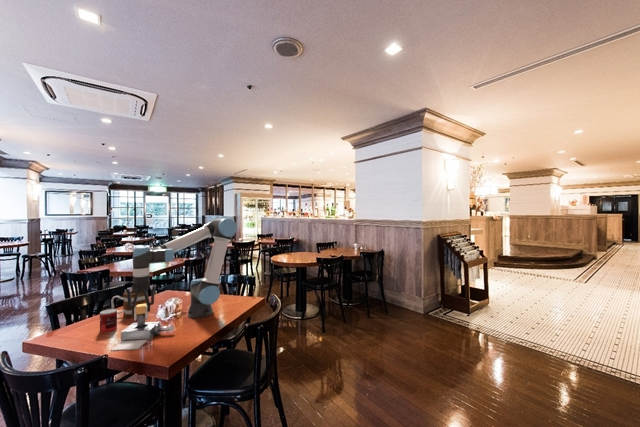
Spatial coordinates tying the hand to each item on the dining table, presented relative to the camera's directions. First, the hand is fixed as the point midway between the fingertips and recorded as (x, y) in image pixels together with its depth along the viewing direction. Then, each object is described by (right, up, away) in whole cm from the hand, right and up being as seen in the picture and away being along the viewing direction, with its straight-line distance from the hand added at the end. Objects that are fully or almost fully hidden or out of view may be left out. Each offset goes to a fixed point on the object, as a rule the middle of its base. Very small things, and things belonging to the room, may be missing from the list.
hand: (141, 318), depth 149 cm
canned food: (-23, -10, +7) cm, 26 cm away
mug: (-27, -10, +31) cm, 42 cm away
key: (0, -7, 0) cm, 7 cm away
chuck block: (+5, -9, +1) cm, 10 cm away
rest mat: (+2, -9, -11) cm, 15 cm away
